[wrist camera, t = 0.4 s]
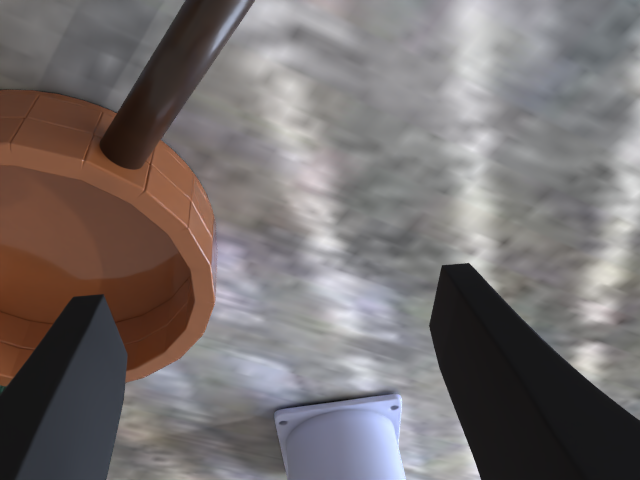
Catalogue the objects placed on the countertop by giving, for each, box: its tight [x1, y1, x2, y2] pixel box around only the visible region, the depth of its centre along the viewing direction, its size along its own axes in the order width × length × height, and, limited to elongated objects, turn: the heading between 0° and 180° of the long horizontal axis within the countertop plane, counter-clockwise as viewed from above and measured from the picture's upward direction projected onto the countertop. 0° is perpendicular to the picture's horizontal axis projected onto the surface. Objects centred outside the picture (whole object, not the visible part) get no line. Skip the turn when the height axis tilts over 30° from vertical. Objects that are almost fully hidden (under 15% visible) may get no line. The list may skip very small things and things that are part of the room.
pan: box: [0, 89, 217, 386], centre depth 21 cm, size 13×13×4 cm
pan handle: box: [100, 0, 255, 170], centre depth 15 cm, size 10×2×2 cm, turn 141°
